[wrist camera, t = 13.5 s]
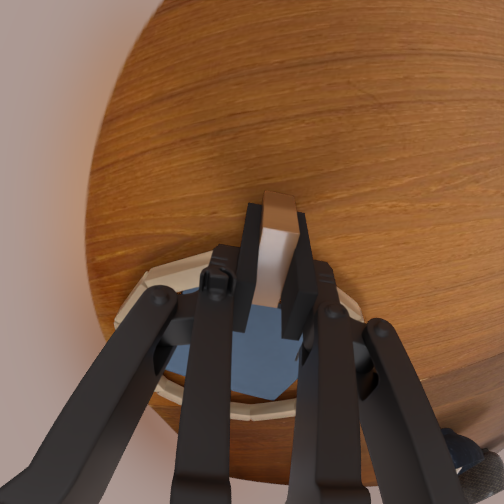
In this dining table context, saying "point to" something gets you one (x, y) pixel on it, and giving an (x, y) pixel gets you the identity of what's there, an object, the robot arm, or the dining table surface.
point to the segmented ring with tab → (266, 292)
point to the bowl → (462, 450)
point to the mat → (255, 355)
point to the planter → (483, 478)
